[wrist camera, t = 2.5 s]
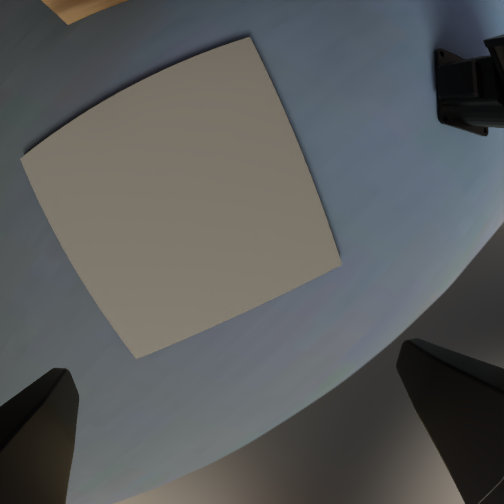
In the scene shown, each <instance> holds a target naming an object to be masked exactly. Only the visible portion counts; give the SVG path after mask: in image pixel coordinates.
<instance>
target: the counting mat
mask: <svg viewBox="0 0 504 504" xmlns="http://www.w3.org/2000/svg"><path fill="white" fill-rule="evenodd" d="M20 159H21V162H22V164H23V167H24V169H25V172H26V174H27V176H28V179H29V181H30V183H31V185H32V188H33V190H34V192H35V194H36V196H37V198H38V201H39V203H40V205H41V207H42V209H43V211H44V213H45V215H46V217H47V219H48V221H49V223H50V225H51V227H52V229H53V231H54V233H55V234H56V236H57V238H58V240H59V242H60V244H61V246H62V247H63V249H64V251H65V253H66V254H67V256H68V258H69V260H70V261H71V263H72V265H73V267H74V268H75V270H76V272H77V273H78V275H79V277H80V278H81V280H82V281H83V283H84V285H85V286H86V288H87V289H88V291H89V293H90V294H91V296H92V297H93V299H94V300H95V302H96V303H97V305H98V306H99V308H100V309H101V311H102V312H103V314H104V315H105V317H106V318H107V320H108V321H109V323H110V324H111V325H112V327H113V328H114V330H115V331H116V332H117V334H118V335H119V337H120V338H121V339H122V341H123V342H124V343H125V345H126V346H127V347H128V349H129V350H130V351H131V353H132V354H133V355H134V357H135V358H136V359H138V358H141V357H143V356H146V355H148V354H150V353H153V352H155V351H158V350H160V349H162V348H165V347H167V346H170V345H172V344H174V343H177V342H179V341H181V340H184V339H186V338H188V337H191V336H193V335H195V334H197V333H200V332H202V331H204V330H206V329H209V328H211V327H213V326H215V325H218V324H220V323H222V322H224V321H227V320H229V319H231V318H233V317H235V316H237V315H240V314H242V313H244V312H246V311H248V310H250V309H253V308H255V307H257V306H259V305H261V304H263V303H265V302H267V301H270V300H272V299H274V298H276V297H278V296H280V295H282V294H284V293H286V292H288V291H290V290H292V289H294V288H297V287H299V286H301V285H303V284H305V283H307V282H309V281H311V280H313V279H315V278H317V277H319V276H321V275H323V274H325V273H327V272H329V271H331V270H333V269H335V268H336V267H338V266H340V265H342V263H341V260H340V257H339V253H338V250H337V247H336V244H335V241H334V238H333V235H332V232H331V230H330V227H329V224H328V221H327V218H326V215H325V212H324V210H323V207H322V204H321V201H320V198H319V196H318V193H317V190H316V188H315V185H314V182H313V180H312V177H311V174H310V172H309V169H308V167H307V164H306V162H305V159H304V156H303V154H302V151H301V149H300V146H299V144H298V142H297V139H296V137H295V134H294V132H293V129H292V127H291V125H290V122H289V120H288V118H287V115H286V113H285V111H284V108H283V106H282V104H281V102H280V99H279V97H278V95H277V93H276V90H275V88H274V86H273V84H272V82H271V79H270V77H269V75H268V73H267V71H266V69H265V67H264V65H263V62H262V60H261V58H260V56H259V54H258V52H257V50H256V48H255V46H254V44H253V42H252V40H251V38H250V37H247V38H244V39H241V40H238V41H235V42H232V43H229V44H226V45H223V46H221V47H218V48H215V49H212V50H210V51H207V52H205V53H202V54H199V55H197V56H194V57H192V58H190V59H187V60H185V61H182V62H180V63H178V64H176V65H173V66H171V67H169V68H167V69H164V70H162V71H160V72H158V73H156V74H154V75H152V76H150V77H148V78H146V79H144V80H142V81H140V82H138V83H136V84H134V85H132V86H130V87H128V88H126V89H124V90H122V91H121V92H119V93H117V94H115V95H113V96H112V97H110V98H108V99H106V100H105V101H103V102H101V103H100V104H98V105H96V106H95V107H93V108H91V109H90V110H88V111H86V112H85V113H83V114H82V115H80V116H79V117H77V118H75V119H74V120H72V121H71V122H69V123H68V124H66V125H65V126H63V127H62V128H60V129H59V130H58V131H56V132H55V133H53V134H52V135H51V136H49V137H48V138H46V139H45V140H44V141H42V142H41V143H40V144H38V145H37V146H36V147H34V148H33V149H32V150H30V151H29V152H28V153H27V154H25V155H24V156H23V157H22V158H20Z"/></svg>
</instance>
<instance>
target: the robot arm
mask: <svg viewBox="0 0 504 504" xmlns="http://www.w3.org/2000/svg"><path fill="white" fill-rule="evenodd" d="M483 41H484V43H485V46H486V47H487V48H488V50H489V52H490V55H488V56H482V57H476V58H470V59H463V58H461V57H459V56H457V55H455V54H453V53H450V52H448V51H446V50H444V49H441V48H439V49H436V50H435V62H436V74H437V92H438V119H439V121H440V123H442V124H445V125H448V126H452V127H455V128H458V129H462V130H465V131H468V132H471V133H475V134H478V135H481V136H487V135H488V127H496V128H504V35H500V36H496V37H493V38H489V39H486V40H483ZM440 54H441V55H440ZM444 118H445V119H444ZM396 368H397V371H398V374H399V376H400V378H401V380H402V382H403V384H404V387H405V389H406V391H407V393H408V396H409V398H410V400H411V402H412V404H413V406H414V409H415V411H416V413H417V414H418V416H419V418H420V420H421V422H422V423H423V425H424V427H425V429H426V430H427V432H428V434H429V435H430V437H431V439H432V441H433V443H434V445H435V447H436V448H437V450H438V452H439V454H440V456H441V458H442V460H443V461H444V463H445V465H446V467H447V469H448V471H449V473H450V475H451V476H452V478H453V480H454V482H455V484H456V486H457V488H458V490H459V492H460V494H461V496H462V498H463V500H464V502H465V504H504V369H503V368H501V367H498V366H495V365H492V364H489V363H486V362H483V361H480V360H477V359H475V358H471V357H469V356H466V355H463V354H461V353H458V352H455V351H452V350H449V349H446V348H444V347H441V346H438V345H436V344H433V343H430V342H427V341H424V340H422V339H419V338H411V339H407V340H405V341H404V342H403V343H402V346H401V349H400V353H399V356H398V359H397V363H396ZM78 406H79V394H78V391H77V388H76V386H75V383H74V381H73V378H72V376H71V373H70V371H69V370H68V369H66V368H53V369H51V370H50V371H49V372H47V373H46V374H44V375H43V376H42V377H40V378H39V379H37V380H36V381H35V382H33V383H32V384H31V385H29V386H28V387H26V388H25V389H24V390H22V391H21V392H20V393H18V394H17V395H15V396H14V397H13V398H11V399H10V400H9V401H7V402H6V403H5V404H3V405H2V406H0V504H66V496H67V489H68V482H69V476H70V470H71V464H72V459H73V453H74V446H75V435H76V424H77V414H78Z"/></svg>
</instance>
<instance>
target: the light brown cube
mask: <svg viewBox="0 0 504 504" xmlns="http://www.w3.org/2000/svg"><path fill="white" fill-rule="evenodd" d="M42 1H43V2H44V3H45V4H46V5H47V6H48V7H49V8H50V9H51V10H52V11H54V12H55V13H56V14H57V15H58V16H59V17H60V18H61V19H62V20H63V21H64V22H65V23H66V24H68V25H69V24H71V23H73V22H76V21H78V20H80V19H82V18H84V17H87V16H89V15H91V14H94V13H96V12H99V11H101V10H104V9H106V8H109V7H111V6H114V5H117V4H119V3H122V2H125V1H128V0H42Z"/></svg>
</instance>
